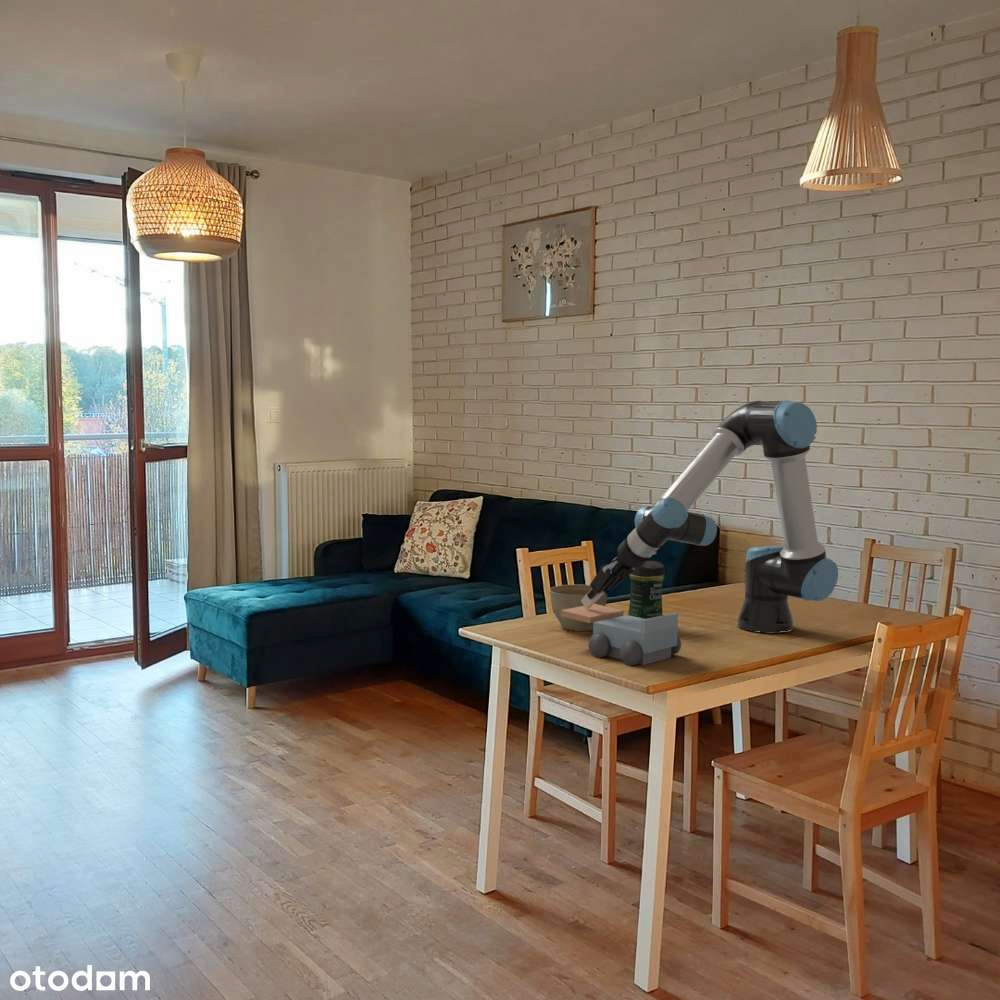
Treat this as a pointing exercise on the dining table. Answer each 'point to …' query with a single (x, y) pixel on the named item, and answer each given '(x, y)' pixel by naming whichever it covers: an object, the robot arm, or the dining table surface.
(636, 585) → the coffee jar
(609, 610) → the tailgate
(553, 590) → the planter bowl
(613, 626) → the flatbed
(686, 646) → the dining table surface
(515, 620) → the dining table surface
